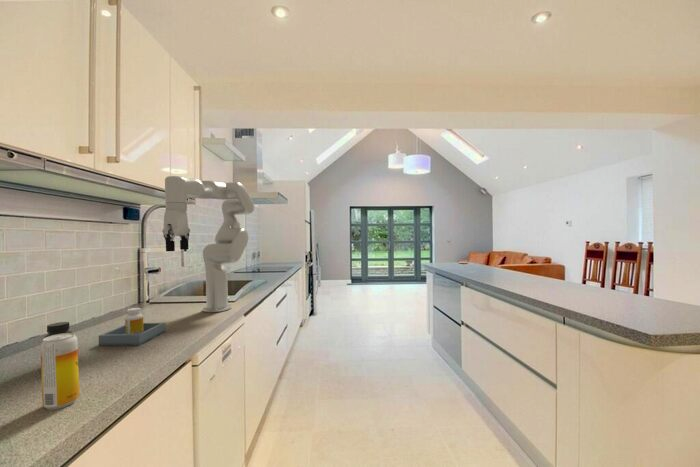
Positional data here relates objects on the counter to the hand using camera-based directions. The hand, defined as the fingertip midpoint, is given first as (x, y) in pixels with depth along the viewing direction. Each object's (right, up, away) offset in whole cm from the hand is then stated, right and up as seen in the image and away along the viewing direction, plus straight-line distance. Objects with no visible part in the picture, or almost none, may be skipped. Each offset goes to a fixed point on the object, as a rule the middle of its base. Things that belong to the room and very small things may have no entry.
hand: (177, 250), depth 128 cm
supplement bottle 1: (-15, -32, -36) cm, 50 cm away
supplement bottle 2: (-8, -30, -14) cm, 34 cm away
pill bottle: (+5, -31, -57) cm, 65 cm away
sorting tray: (-8, -31, -14) cm, 35 cm away
